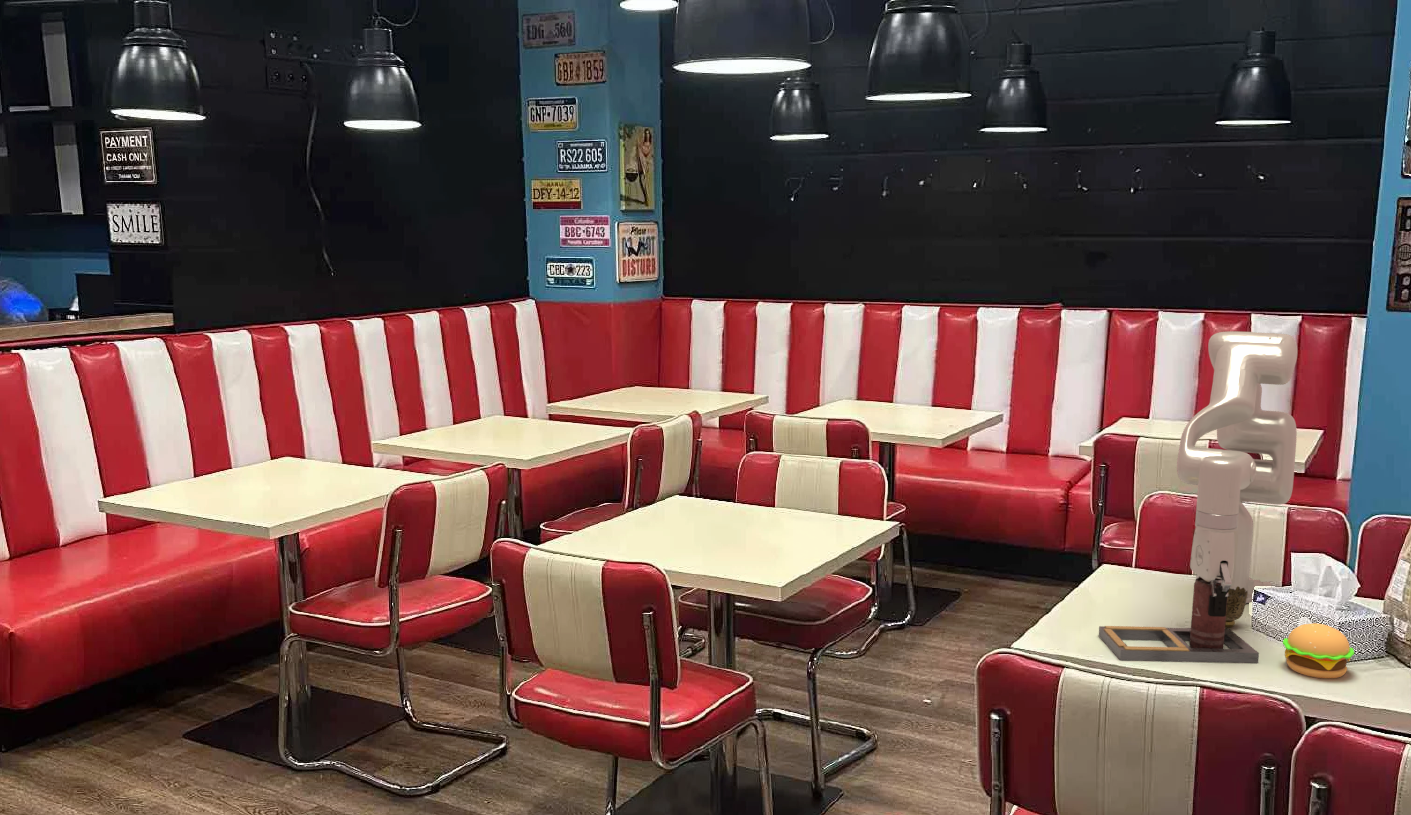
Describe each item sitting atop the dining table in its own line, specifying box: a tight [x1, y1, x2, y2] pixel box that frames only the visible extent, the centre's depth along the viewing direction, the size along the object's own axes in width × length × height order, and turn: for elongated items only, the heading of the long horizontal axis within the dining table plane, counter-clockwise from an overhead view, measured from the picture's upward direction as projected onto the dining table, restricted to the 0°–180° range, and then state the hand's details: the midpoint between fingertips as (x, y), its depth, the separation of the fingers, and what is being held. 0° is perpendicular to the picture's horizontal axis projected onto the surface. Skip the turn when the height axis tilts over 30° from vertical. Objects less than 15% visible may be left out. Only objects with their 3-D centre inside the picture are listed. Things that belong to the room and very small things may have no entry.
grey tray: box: [1098, 625, 1260, 664], centre depth 239 cm, size 26×14×2 cm, turn 88°
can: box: [1189, 577, 1227, 649], centre depth 237 cm, size 6×6×14 cm
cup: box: [1225, 586, 1248, 629], centre depth 253 cm, size 8×7×8 cm
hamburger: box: [1282, 622, 1355, 679], centre depth 228 cm, size 12×12×9 cm
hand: (1209, 609), depth 237 cm, fingers closed on can, 6 cm apart
